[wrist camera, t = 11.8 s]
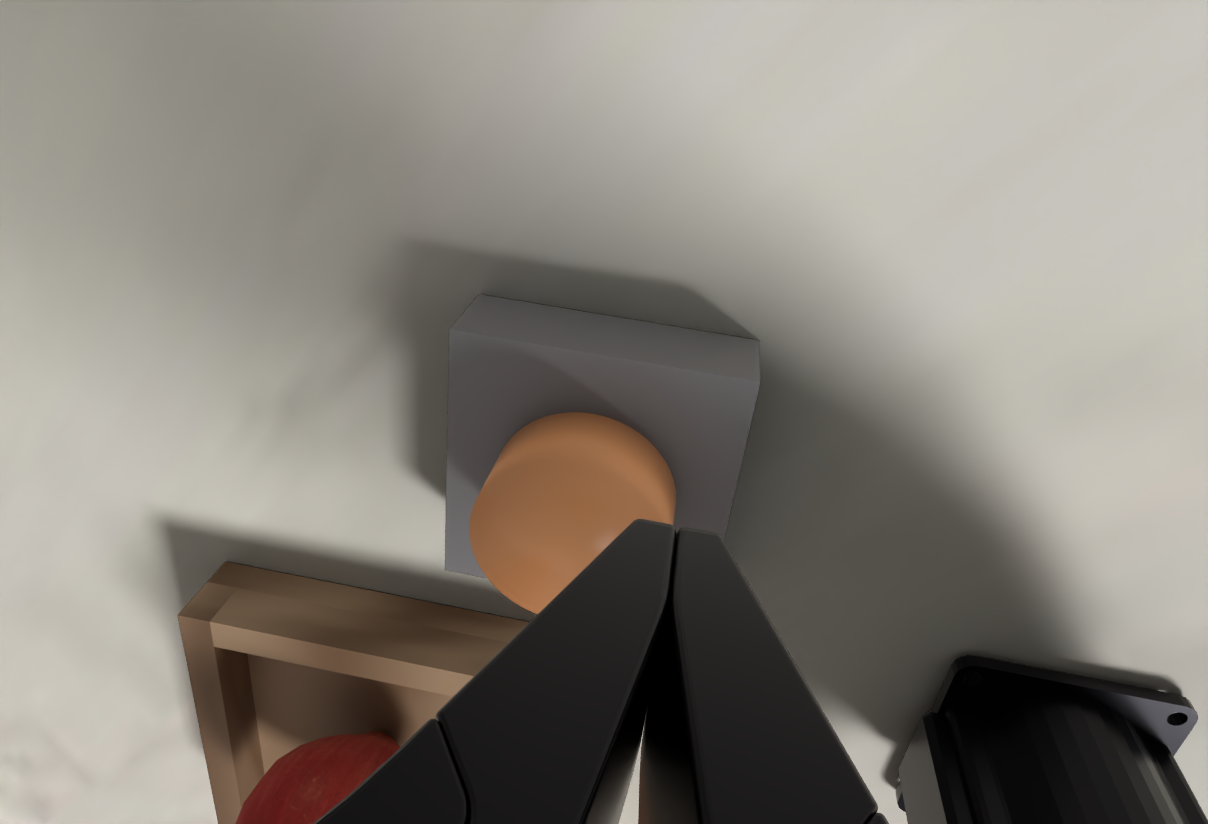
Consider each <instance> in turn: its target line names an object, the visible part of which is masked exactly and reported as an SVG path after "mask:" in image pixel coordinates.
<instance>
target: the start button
mask: <svg viewBox="0 0 1208 824" xmlns="http://www.w3.org/2000/svg"><path fill="white" fill-rule="evenodd" d="M675 509H676V488H675V484H674V479H673V477H672V474H671V471H670V469H669V467H668V465H667V463H666V461H665V460H664V458H663V457H662V455H661V454H660V453H659V451H658V450H657V449H656V448H655V447H654V446H653V445H652V444H651V443H650V441H648V440H647V439H646V438H645V437H644V436H642V435H641V434H640V433H638V432H637V431H635V430H634V429H632V428H631V427H629V426H627V425H625V424H623V423H621V422H619V421H616V420H614V419H611V418H608V417H605V416H601V415H596V414H591V413H582V412H567V413H559V414H554V415H550V416H546V417H543V418H540V419H538V420H535V421H533V422H531V423H529V424H528V425H526V426H524V427H523V428H522V429H520V430H519V431H518V432H516V433H515V434H514V435H513V436H512V437H511V438H510V440H509V441H508V442H507V443H506V445H505V446H504V448H503V449H502V451H501V453H500V455H499V457H498V459H497V461H496V463H495V465H494V467H493V468H492V470H491V472H490V474H489V476H488V478H487V480H486V482H485V484H484V486H483V488H482V490H481V491H480V493H479V495H478V497H477V499H476V501H475V503H474V506H473V509H472V512H471V516H470V523H469V536H470V542H471V547H472V550H473V553H474V556H475V558H476V560H477V562H478V564H479V566H480V568H481V570H482V571H483V573H484V574H485V576H486V577H487V578H488V579H489V581H490V582H491V583H492V584H493V585H494V586H495V587H496V588H497V589H498V590H499V591H500V592H501V593H502V594H503V595H505V596H506V597H507V598H509V599H510V600H511V601H513V602H514V603H516V604H518V605H519V606H521V607H523V608H525V609H527V610H529V611H531V612H533V613H535V614H538V613H540V612H541V611H542V610H543V609H544V608H545V607H546V606H547V605H548V604H549V603H550V602H551V601H552V600H553V599H554V598H555V597H556V596H557V595H558V594H559V593H560V592H561V591H562V590H563V589H564V588H565V587H566V586H567V585H568V584H569V583H570V582H571V581H572V580H573V579H574V578H575V577H577V576H578V575H579V574H580V573H581V572H582V571H583V570H584V569H585V568H586V567H587V566H588V565H589V564H590V563H591V562H592V561H593V560H594V559H595V558H596V557H597V556H598V555H599V554H600V553H601V552H602V551H603V550H604V549H605V548H606V547H607V546H608V545H609V544H610V543H611V542H612V541H613V540H615V539H616V538H617V537H618V536H619V535H620V534H621V533H622V532H623V531H624V530H625V529H626V528H627V527H628V526H629V525H630V524H631V523H632V522H633V521H634V520H637V519H646V520H651V521H656V522H662V523H667V524H671V525H673V524H674V517H675Z"/></svg>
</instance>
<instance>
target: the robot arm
mask: <svg viewBox="0 0 1208 824" xmlns="http://www.w3.org/2000/svg"><path fill="white" fill-rule="evenodd" d="M970 672H976V673H975V674H972V675H966V674H968V673H970ZM1173 713H1174V714H1173ZM1197 720H1198V715H1197V712H1196V711H1195V709H1194V707H1193V706H1192V704H1191V702H1190V701H1189V700H1188V699H1187V698H1186V697H1183V696H1180V695H1176V694H1170V693H1165V692H1160V691H1155V690H1150V689H1145V688H1139V687H1134V686H1129V685H1124V684H1119V683H1114V682H1108V681H1103V680H1098V679H1093V678H1088V677H1083V676H1077V675H1072V674H1067V673H1062V672H1057V671H1052V670H1046V669H1041V668H1036V667H1031V666H1026V665H1021V664H1015V663H1010V662H1005V661H1000V660H995V659H990V658H984V657H979V656H971V655H967V656H963V657H960V658H958V659H956V660H955V661H954V662H953V663H952V665H951V667H950V669H949V671H948V674H947V676H946V678H945V680H944V683H943V685H942V687H941V689H940V692H939V694H938V696H937V698H936V701H935V703H934V705H933V707H932V709H931V712H929V711H928V712H927V713H926V714H925V715H924V716H922V717H921V719H920V721H919V724H918V726H917V728H916V730H915V733H914V735H913V737H912V739H911V742H910V744H909V746H908V749H907V751H906V753H905V755H904V758H903V760H902V762H901V765H900V767H899V777H900V781H899V784H898V786H897V788H896V797H897V803H898V806H899V808H900V809H902V810H903V811H905V812H906V815H907V821H908V824H1208V820H1207V818H1206V816H1205V814H1204V812H1203V811H1202V809H1201V807H1200V805H1199V803H1198V801H1197V799H1196V798H1195V796H1194V794H1193V792H1192V790H1191V788H1190V786H1189V785H1188V783H1187V781H1186V779H1185V777H1184V775H1183V773H1182V772H1181V770H1180V768H1179V766H1178V764H1177V762H1176V760H1175V759H1174V757H1173V756H1174V755H1175V753H1176V752H1177V750H1178V749H1179V748H1180V746H1181V745H1182V743H1183V742H1184V740H1185V739H1186V737H1187V736H1188V734H1189V733H1190V731H1191V730H1192V728H1193V727H1194V726H1195V724H1196V722H1197ZM644 722H645V723H644ZM643 727H644V731H643ZM642 732H643V739H642V747H641V762H640V784H639V820H638V824H889V823H888V821H887V820H886V818H885V816H884V815H883V814H881V813H877V810H878V806H877V803H876V802H875V800H874V798H873V796H872V795H871V793H870V791H869V789H868V788H867V786H866V784H865V783H864V781H863V779H862V777H861V776H860V774H859V772H858V771H857V769H856V767H855V765H854V764H853V762H852V760H851V759H850V757H849V755H848V753H847V752H846V750H845V748H844V747H843V745H842V743H841V741H840V740H839V738H838V736H837V734H836V733H835V731H834V729H833V728H832V726H831V724H830V722H829V721H828V719H827V717H826V716H825V714H824V712H823V710H822V709H821V707H820V705H819V704H818V702H817V700H816V698H815V697H814V695H813V693H812V692H811V690H810V688H809V686H808V685H807V683H806V681H805V679H804V678H803V676H802V674H801V673H800V671H799V669H798V667H797V666H796V664H795V662H794V661H793V659H792V657H791V655H790V654H789V652H788V650H787V649H786V647H785V645H784V643H783V642H782V640H781V638H780V637H779V635H778V633H777V631H776V630H775V628H774V626H773V625H772V623H771V621H770V619H769V618H768V616H767V614H766V612H765V611H764V609H763V607H762V606H761V604H760V602H759V600H758V599H757V597H756V595H755V594H754V592H753V590H752V588H751V587H750V585H749V583H748V582H747V580H746V578H745V576H744V575H743V573H742V571H741V570H740V568H739V566H738V564H737V563H736V561H735V559H734V557H733V556H732V554H731V552H730V551H729V549H728V547H727V545H726V544H725V542H724V540H723V539H722V537H721V536H720V535H719V534H718V533H715V532H710V531H705V530H699V529H694V528H688V527H682V528H680V529H679V530H678V531H677V534H676V529H675V527H674V526H673V525H671V524H667V523H662V522H656V521H651V520H646V519H637V520H634V521H633V522H632V523H631V524H630V525H629V526H628V527H627V528H626V529H625V530H624V531H623V532H622V533H621V534H620V535H619V536H618V537H617V538H616V539H615V540H613V541H612V542H611V543H610V544H609V545H608V546H607V547H606V548H605V549H604V550H603V551H602V552H601V553H600V554H599V555H598V556H597V557H596V558H595V559H594V560H593V561H592V562H591V563H590V564H589V565H588V566H587V567H586V568H585V569H584V570H583V571H582V572H581V573H580V574H579V575H578V576H577V577H575V578H574V579H573V580H572V581H571V582H570V583H569V584H568V585H567V586H566V587H565V588H564V589H563V590H562V591H561V592H560V593H559V594H558V595H557V596H556V597H555V598H554V599H553V600H552V601H551V602H550V603H549V604H548V605H547V606H546V607H545V608H544V609H543V610H542V611H541V612H540V613H538V614H537V615H536V616H535V617H534V618H533V619H532V620H531V621H530V622H529V623H528V624H527V625H526V626H525V627H524V628H523V629H522V630H521V631H520V632H519V633H518V634H517V635H516V636H515V637H514V638H513V639H512V640H511V641H510V642H509V643H508V644H507V645H506V646H505V647H504V648H503V649H501V650H500V651H499V652H498V653H497V654H496V655H495V656H494V657H493V658H492V659H491V660H490V661H489V662H488V663H487V664H486V665H485V666H484V667H483V668H482V669H481V670H480V671H479V672H478V673H477V674H476V675H475V676H474V677H473V678H472V679H471V680H470V681H469V682H468V683H467V684H466V685H464V686H463V687H462V688H461V689H460V690H459V691H458V692H457V693H456V694H455V695H454V696H453V697H452V698H451V699H450V700H449V701H448V702H447V703H446V704H445V705H444V706H443V707H442V708H441V709H440V710H439V711H438V712H437V713H436V716H435V719H429V720H428V721H427V722H426V723H425V724H424V725H423V726H422V727H421V728H420V729H419V730H418V731H417V732H416V733H415V734H414V735H413V736H412V737H411V738H410V739H408V740H407V741H406V742H405V743H404V744H403V745H402V746H401V747H400V748H399V749H398V750H397V751H396V752H395V753H394V754H393V755H392V756H391V757H390V758H388V759H387V760H386V761H385V762H384V763H383V764H382V765H381V766H380V767H379V768H377V769H376V770H375V771H374V772H373V773H372V774H371V775H370V776H369V777H368V778H366V779H365V780H364V781H363V782H362V783H361V784H360V785H359V786H358V787H357V788H356V789H354V790H353V791H352V792H351V793H350V794H349V795H348V796H346V797H345V798H344V799H343V800H342V801H340V802H339V803H338V804H337V805H335V806H334V807H333V808H332V809H330V810H329V811H328V812H327V813H325V814H324V815H323V816H322V817H321V818H319V819H318V820H317V821H316V822H314V823H313V824H618V823H619V819H620V816H621V813H622V809H623V806H624V802H625V799H626V795H627V792H628V788H629V785H630V781H631V778H632V775H633V771H634V767H635V763H636V759H637V755H638V751H639V747H640V742H641V737H642Z"/></svg>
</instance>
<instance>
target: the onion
mask: <svg viewBox="0 0 1208 824" xmlns="http://www.w3.org/2000/svg"><path fill="white" fill-rule="evenodd" d="M399 748H400V746H399V745H398V744H397V742H396V741H395V740H394V739H393V738H392V737H391V736H390V735H388V734H387V733H384V732H381V731H370V732H367V733H364V734H340V735H334V736H329V737H323V738H320V739H317V740H314V741H311V742H308V743H306V744H303V745H300V746H298V747H297V748H295V749H294V750H292V751H290V752H289V753H287V754H286V755H284V756H282V757H281V758H279V759H278V760H276V762H275V763H274V764H273V765H272V766H271V768H270V769H269V770H268V771H267V772H266V774H265V775H264V776H263V777H262V779H261V780H260V781H259V783H258V784H257V785H256V787H255V788H254V789H253V791H252V792H251V793H250V795H249V796H248V798H247V799H246V800H245V802H244V803H243V806H242V808H241V811H240V813H239V816H238V818H237V821H236V823H235V824H313V823H314V822H316V821H317V820H318V819H319V818H321V817H322V816H323V815H324V814H325V813H327V812H328V811H329V810H330V809H332V808H333V807H334V806H335V805H337V804H338V803H339V802H340V801H342V800H343V799H344V798H345V797H346V796H348V795H349V794H350V793H351V792H352V791H353V790H354V789H356V788H357V787H358V786H359V785H360V784H361V783H362V782H363V781H364V780H365V779H366V778H368V777H369V776H370V775H371V774H372V773H373V772H374V771H375V770H376V769H377V768H379V767H380V766H381V765H382V764H383V763H384V762H385V761H386V760H387V759H388V758H390V757H391V756H392V755H393V754H394V753H395V752H396V751H397V750H398V749H399Z"/></svg>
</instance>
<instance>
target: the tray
mask: <svg viewBox="0 0 1208 824" xmlns="http://www.w3.org/2000/svg"><path fill="white" fill-rule="evenodd" d="M178 620H179V625H180V630H181V635H182V640H183V646H184V651H185V656H186V661H187V666H188V671H189V676H190V681H191V687H192V692H193V697H194V702H195V707H196V712H197V717H198V722H199V727H200V733H201V738H202V743H203V748H204V753H205V758H206V763H207V768H208V774H209V779H210V784H211V789H212V794H213V799H214V804H215V809H216V815H217V820H218V824H235V823H236V821H237V818H238V816H239V813H240V811H241V808H242V806H243V803H244V802H245V800H246V799H247V798H248V796H249V795H250V793H251V792H252V791H253V789H254V788H255V787H256V785H257V784H258V783H259V781H260V780H261V779H262V777H263V776H264V775H265V774H266V772H267V771H268V770H269V769H270V768H271V766H272V765H273V764H274V763H275V762H276V760H278V759H279V758H281V757H282V756H284V755H286V754H287V753H289V752H290V751H292V750H294V749H295V748H297V747H298V746H300V745H303V744H306V743H308V742H311V741H314V740H317V739H320V738H323V737H329V736H334V735H340V734H364V733H367V732H370V731H381V732H384V733H387V734H388V735H390V736H391V737H392V738H393V739H394V740H395V741H396V742H397V744H398V745H399V746H400V747H401V746H402V745H403V744H404V743H405V742H406V741H407V740H408V739H410V738H411V737H412V736H413V735H414V734H415V733H416V732H417V731H418V730H419V729H420V728H421V727H422V726H423V725H424V724H425V723H426V722H427V721H428V720H429V719H435V716H436V713H437V712H438V711H439V710H440V709H441V708H442V707H443V706H444V705H445V704H446V703H447V702H448V701H449V700H450V699H451V698H452V697H453V696H454V695H455V694H456V693H457V692H458V691H459V690H460V689H461V688H462V687H463V686H464V685H466V684H467V683H468V682H469V681H470V680H471V679H472V678H473V677H474V676H475V675H476V674H477V673H478V672H479V671H480V670H481V669H482V668H483V667H484V666H485V665H486V664H487V663H488V662H489V661H490V660H491V659H492V658H493V657H494V656H495V655H496V654H497V653H498V652H499V651H500V650H501V649H503V648H504V647H505V646H506V645H507V644H508V643H509V642H510V641H511V640H512V639H513V638H514V637H515V636H516V635H517V634H518V633H519V632H520V631H521V630H522V629H523V628H524V627H525V626H526V625H527V624H528V623H529V622H526V621H521V620H516V619H511V618H506V617H501V616H496V615H491V614H486V613H481V612H476V611H471V610H466V609H461V608H456V607H451V606H446V605H441V604H436V603H431V602H426V601H421V600H416V599H411V598H406V597H401V596H396V595H391V594H386V593H381V592H376V591H371V590H366V589H361V588H356V587H351V586H346V585H341V584H336V583H331V582H326V581H320V580H315V579H310V578H305V577H300V576H295V575H290V574H285V573H280V572H275V571H270V570H265V569H260V568H255V567H250V566H245V565H240V564H235V563H230V562H225V563H224V564H223V565H222V566H221V567H220V568H219V569H218V570H217V572H216V573H215V574H214V575H213V576H212V577H211V578H210V579H209V581H208V582H207V583H206V584H205V585H204V586H203V587H202V588H201V589H200V591H199V592H198V593H197V594H196V595H195V596H194V597H193V598H192V600H191V601H190V602H189V603H188V604H187V605H186V606H185V607H184V609H183V610H182V611H181V612H180V613H179V614H178Z"/></svg>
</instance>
